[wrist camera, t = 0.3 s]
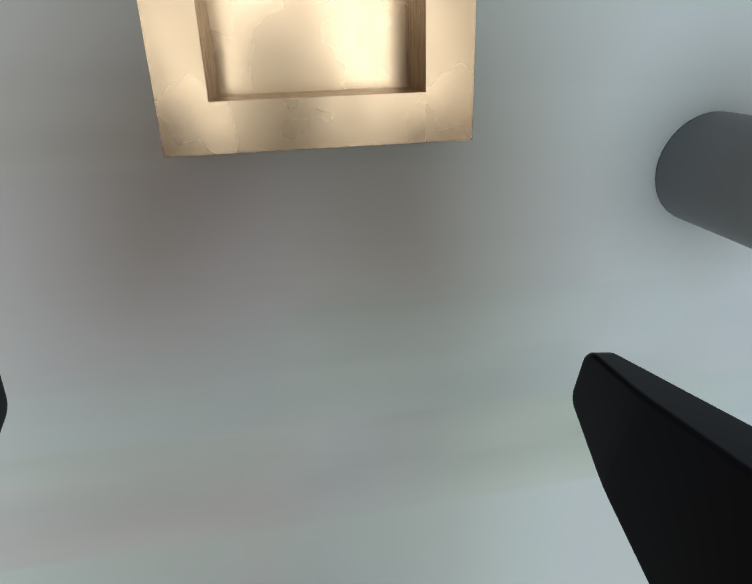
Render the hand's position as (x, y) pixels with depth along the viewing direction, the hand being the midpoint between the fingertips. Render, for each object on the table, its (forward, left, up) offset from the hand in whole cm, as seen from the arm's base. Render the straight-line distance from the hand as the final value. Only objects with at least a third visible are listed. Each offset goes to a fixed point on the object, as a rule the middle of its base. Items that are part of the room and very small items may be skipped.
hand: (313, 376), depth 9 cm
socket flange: (+7, -1, -14) cm, 15 cm away
